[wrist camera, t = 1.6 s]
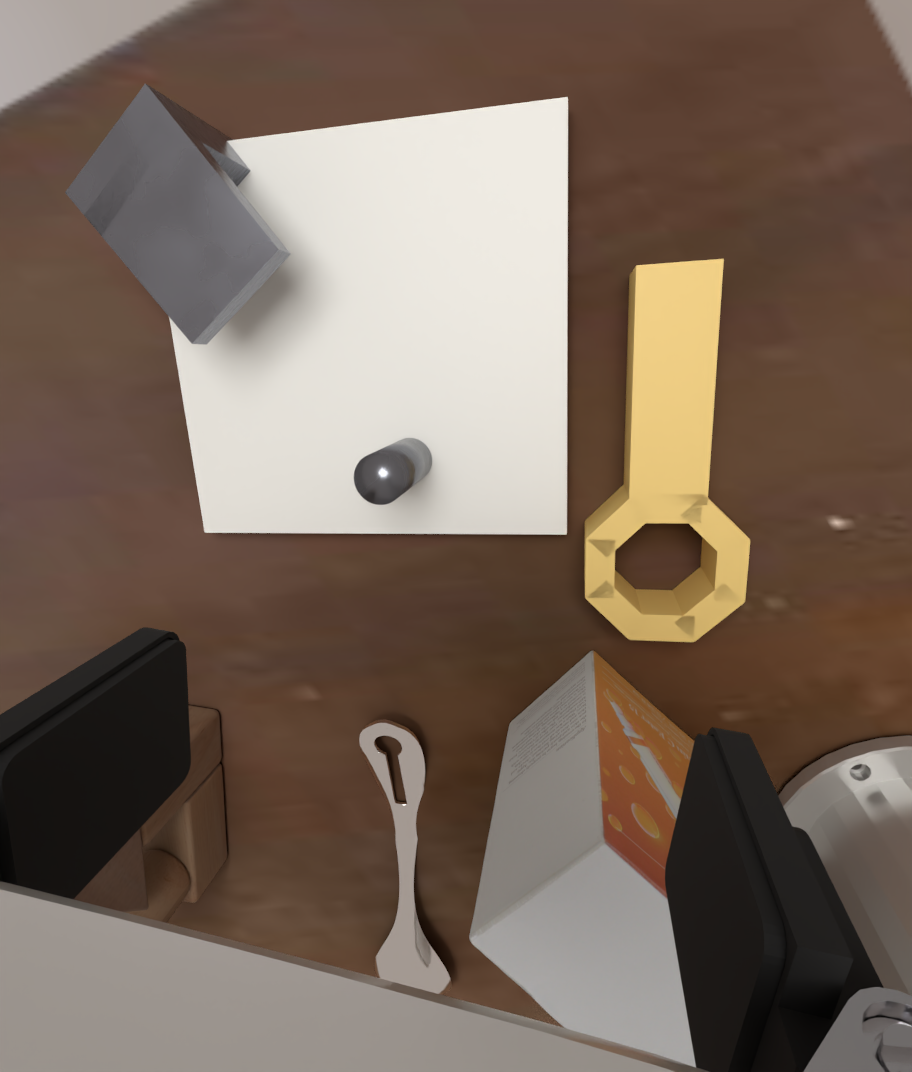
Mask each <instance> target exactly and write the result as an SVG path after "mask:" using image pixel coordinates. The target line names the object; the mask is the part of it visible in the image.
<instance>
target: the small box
mask: <svg viewBox="0 0 912 1072" xmlns="http://www.w3.org/2000/svg"><path fill="white" fill-rule="evenodd" d="M694 742H695V741H694V740H692V739H691V738H690V737H689V736H688V735H687V734H685V733H684V732H683V731H682V730H681V729H680V728H678V727H677V726H676V725H675V724H674V723H673V722H672V721H670V720H669V719H668V718H667V717H666V716H665V715H664V714H663V713H662V712H661V711H659V710H658V709H657V708H656V707H655V706H654V705H652V704H651V703H650V702H649V701H648V700H647V699H646V698H645V697H644V696H643V695H641V694H640V693H639V692H638V691H637V690H636V689H635V688H634V687H633V686H632V685H631V684H629V683H628V682H627V681H626V680H625V679H624V678H623V677H622V676H621V675H620V674H618V673H617V672H616V671H615V670H614V669H613V668H612V667H611V666H610V665H609V664H608V663H607V662H606V661H605V660H604V659H602V658H601V657H600V656H599V655H598V654H597V653H596V652H595V651H590V652H589V653H588V654H587V655H586V656H585V657H584V658H582V659H581V660H580V661H579V662H578V663H577V664H576V665H575V666H574V667H572V668H571V669H570V670H569V671H568V672H567V673H565V674H564V675H563V676H562V677H561V678H560V679H559V680H558V681H557V682H555V683H554V684H553V685H552V686H551V687H550V688H549V689H547V690H546V691H545V692H544V693H543V694H542V695H541V696H539V697H538V698H537V699H536V700H535V701H534V702H533V703H532V704H530V705H529V706H528V707H527V708H526V709H525V710H524V711H523V712H522V713H520V714H519V715H518V716H517V717H516V718H515V719H513V720H512V721H511V722H510V724H509V729H508V734H507V739H506V744H505V749H504V754H503V760H502V765H501V770H500V776H499V781H498V786H497V792H496V798H495V804H494V809H493V815H492V820H491V825H490V830H489V835H488V841H487V846H486V852H485V857H484V863H483V868H482V874H481V879H480V885H479V890H478V895H477V900H476V906H475V911H474V916H473V921H472V925H471V930H470V935H469V938H470V941H471V943H472V944H473V945H474V946H475V947H476V948H477V949H479V950H480V951H481V952H482V953H483V954H484V955H485V956H486V957H487V958H488V959H490V960H491V961H492V962H493V963H494V964H495V965H496V966H498V967H499V968H500V969H501V970H502V971H503V972H504V973H505V974H506V975H508V976H509V977H510V978H511V979H512V980H513V981H515V982H516V983H517V984H518V985H519V986H520V987H521V988H523V989H524V990H525V991H526V992H527V993H528V994H529V995H530V996H531V997H532V998H533V999H534V1000H535V1001H536V1002H537V1003H538V1004H539V1005H540V1006H541V1007H542V1008H543V1009H544V1010H545V1011H546V1012H547V1013H548V1014H550V1015H551V1016H552V1017H553V1018H554V1019H555V1020H556V1021H557V1022H559V1023H560V1024H561V1025H562V1026H563V1027H564V1028H566V1029H569V1030H573V1031H576V1032H580V1033H584V1034H587V1035H591V1036H594V1037H598V1038H601V1039H605V1040H608V1041H612V1042H615V1043H619V1044H622V1045H626V1046H629V1047H633V1048H636V1049H640V1050H643V1051H647V1052H650V1053H654V1054H657V1055H660V1056H663V1057H666V1058H669V1059H672V1060H675V1061H678V1062H681V1063H684V1064H687V1065H690V1066H693V1067H696V1064H695V1059H694V1053H693V1047H692V1041H691V1035H690V1029H689V1023H688V1017H687V1011H686V1005H685V999H684V993H683V988H682V982H681V976H680V970H679V964H678V958H677V952H676V946H675V940H674V934H673V928H672V922H671V917H670V911H669V905H668V899H667V893H666V886H665V868H666V861H667V857H668V852H669V848H670V844H671V840H672V835H673V831H674V827H675V823H676V818H677V814H678V810H679V805H680V801H681V797H682V793H683V788H684V784H685V780H686V776H687V771H688V767H689V763H690V758H691V754H692V750H693V746H694Z"/></svg>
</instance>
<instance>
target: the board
mask: <svg viewBox="0 0 912 1072" xmlns="http://www.w3.org/2000/svg"><path fill="white" fill-rule="evenodd" d="M227 142H228V143H229V144H230V145H231V147H232V148H233V149H234V150H235V152H236V153H237V154H238V155H239V157H240V158H241V159H242V160H243V162H244V163H245V164H246V165H247V167H248V168H249V169H250V172H249V173H248V175H247V176H246V177H245V178H244V179H243V180H242V182H241V183H240V184H239V185H238V186H237V187H238V189H239V190H240V191H241V192H242V194H243V195H244V196H245V197H246V199H247V200H248V201H249V202H250V204H251V205H252V206H253V207H254V209H255V210H256V211H257V212H258V214H259V215H260V216H261V217H262V219H263V220H264V221H265V222H266V224H267V225H268V226H269V227H270V229H271V230H272V231H273V232H274V234H275V235H276V236H277V237H278V239H279V240H280V241H281V242H282V244H283V245H284V246H285V247H286V249H287V250H288V251H289V252H290V254H291V255H290V256H289V257H288V258H287V259H286V260H285V261H284V262H283V263H282V264H281V265H280V267H279V268H278V269H277V270H276V271H275V272H274V273H273V274H272V275H271V276H270V277H269V278H268V279H267V280H266V282H265V283H264V284H263V285H262V286H261V287H260V288H259V289H258V290H257V291H256V292H255V293H254V294H253V295H252V297H251V298H250V299H249V300H248V301H247V302H246V303H245V304H244V305H243V306H242V307H241V308H240V309H239V310H238V312H237V313H236V314H235V315H234V316H233V317H232V318H231V319H230V320H229V321H228V322H227V323H226V324H225V326H224V327H223V328H222V329H221V330H220V331H219V332H218V333H217V334H216V335H215V336H214V337H213V338H212V339H211V341H210V342H209V343H208V344H207V345H206V344H192V343H191V342H190V341H189V340H188V339H187V337H186V336H185V335H184V334H183V333H182V332H181V330H180V329H179V328H178V327H177V326H176V324H175V323H174V322H173V321H172V320H171V318H170V317H169V318H170V324H171V330H172V336H173V342H174V348H175V354H176V360H177V366H178V372H179V379H180V385H181V391H182V397H183V403H184V409H185V415H186V421H187V427H188V433H189V440H190V446H191V452H192V458H193V464H194V470H195V476H196V482H197V488H198V495H199V501H200V507H201V513H202V519H203V525H204V531H205V533H357V534H551V535H567V385H568V97H564V98H556V99H548V100H540V101H533V102H525V103H517V104H509V105H502V106H494V107H486V108H478V109H471V110H463V111H455V112H447V113H440V114H432V115H424V116H417V117H409V118H401V119H393V120H386V121H378V122H370V123H362V124H355V125H347V126H339V127H331V128H324V129H316V130H308V131H300V132H293V133H285V134H277V135H270V136H262V137H254V138H246V139H239V140H231V141H227ZM404 438H415V439H418V440H420V441H422V442H423V443H424V444H426V446H427V447H428V448H429V450H430V452H431V455H432V466H431V469H430V471H429V473H428V474H427V475H426V476H425V477H424V478H423V479H421V480H420V481H419V482H418V483H416V484H415V485H414V486H412V487H411V488H410V489H409V490H407V491H406V492H405V493H404V494H402V495H401V496H400V497H398V498H397V499H396V500H394V501H393V502H391V503H389V504H385V505H376V504H372V503H370V502H368V501H366V500H365V499H364V498H363V497H362V496H361V495H360V494H359V493H358V491H357V489H356V487H355V484H354V471H355V468H356V466H357V464H358V462H359V461H360V460H361V459H362V458H364V457H365V456H367V455H369V454H371V453H373V452H376V451H378V450H380V449H382V448H384V447H386V446H389V445H391V444H393V443H395V442H397V441H399V440H402V439H404Z"/></svg>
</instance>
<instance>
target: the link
mask: <svg viewBox="0 0 912 1072" xmlns="http://www.w3.org/2000/svg"><path fill="white" fill-rule="evenodd" d="M723 262H724V259H715V260H702V261H688V262H675V263H662V264H649V265H636V267H635V268H634V270H633V271H632V273H631V274H630V276H629V309H628V344H627V380H626V416H625V452H624V485H622V486H621V487H620V488H619V489H618V490H617V491H616V492H615V493H614V494H613V495H612V496H611V497H610V498H609V499H608V500H606V501H605V502H604V503H603V504H602V505H601V506H600V507H599V508H598V509H597V510H596V511H595V512H594V513H593V514H592V515H590V516H589V517H588V518H587V519H586V520H585V537H584V584H585V598H586V600H588V601H589V602H590V603H591V604H592V605H593V606H594V607H595V608H596V609H597V610H598V611H599V612H600V613H601V614H602V615H603V616H604V617H605V618H606V619H608V620H609V621H610V622H611V623H612V624H613V625H614V626H615V627H616V628H617V629H618V630H619V631H620V632H621V633H622V634H623V635H624V636H625V637H627V638H628V639H630V640H645V641H672V642H693V641H694V642H695V641H696V640H697V639H699V638H700V637H701V636H703V635H704V634H705V633H706V632H708V631H709V630H710V629H711V628H713V627H714V626H715V625H717V624H718V623H719V622H720V621H722V620H723V619H724V618H725V617H727V616H728V615H729V614H731V613H732V612H733V611H734V610H736V609H737V608H738V607H739V606H741V605H742V604H743V603H744V602H745V597H746V585H747V574H748V562H749V551H750V539H749V538H748V537H747V536H746V535H745V534H744V533H743V532H742V531H741V530H740V529H739V528H738V527H737V526H736V525H735V524H734V523H733V522H732V521H731V520H730V519H729V518H728V517H727V516H726V515H725V514H724V513H723V512H722V511H721V510H720V509H719V508H718V507H717V506H716V505H715V504H714V503H713V502H712V501H711V500H710V499H709V498H708V488H709V473H710V458H711V443H712V428H713V413H714V398H715V382H716V367H717V352H718V337H719V322H720V307H721V292H722V277H723ZM645 523H689V524H690V525H691V526H692V527H693V528H694V529H695V530H696V531H697V532H698V533H699V534H700V535H701V536H702V550H701V566H700V567H699V568H698V569H697V570H696V571H695V572H693V573H692V574H691V575H690V576H689V577H687V578H686V579H685V580H684V581H683V582H681V583H680V584H679V585H678V586H677V587H675V588H674V589H673V590H644V589H635V588H634V587H632V586H631V585H630V584H629V583H628V582H627V581H626V580H625V579H624V578H623V577H622V576H621V575H620V574H619V573H618V572H617V571H616V570H615V550H616V549H617V548H619V547H620V546H621V545H622V544H623V543H624V542H625V541H626V540H627V539H629V538H630V537H631V536H632V535H633V534H634V533H635V532H636V531H638V530H639V529H640V528H641V527H642V526H643V525H644V524H645Z"/></svg>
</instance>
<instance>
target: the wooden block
mask: <svg viewBox="0 0 912 1072" xmlns="http://www.w3.org/2000/svg"><path fill="white" fill-rule="evenodd" d="M188 706H189V727H190V748H191V766H190V770H189V772H188V775H187V777H186V779H185V780H184V781H183V783H182V784H181V785H180V786H179V787H178V788H177V789H176V790H175V791H174V792H173V793H172V795H171V796H170V797H169V798H168V799H167V800H166V801H165V802H164V803H163V804H162V805H161V806H160V807H159V808H158V809H157V811H156V812H155V813H154V814H153V815H152V816H151V817H150V818H149V819H148V820H147V821H146V822H145V823H144V824H143V826H142V827H141V828H140V829H139V830H138V831H137V832H136V833H135V834H134V835H133V836H132V837H131V838H130V839H129V841H128V842H127V843H126V844H125V845H124V846H123V847H122V848H121V849H120V850H119V851H118V852H117V853H116V854H115V855H114V857H113V858H112V859H111V860H110V861H109V862H108V863H107V864H106V865H105V866H104V867H103V868H102V869H101V870H100V872H99V873H98V874H97V875H96V876H95V877H94V878H93V879H92V880H91V881H90V882H89V883H88V884H87V885H86V887H85V888H84V889H83V890H82V891H81V892H80V893H79V894H78V895H77V896H76V897H75V898H74V899H73V900H77V901H81V902H85V903H89V904H93V905H97V906H101V907H105V908H109V909H113V910H117V911H121V912H125V913H129V914H133V915H137V916H141V917H145V918H149V919H153V920H157V921H161V922H164V923H167V922H168V920H169V919H170V917H171V916H172V915H173V913H174V912H175V910H176V909H177V908H178V906H179V905H180V904H181V902H182V901H185V902H189V903H195V902H197V901H198V899H199V898H200V897H201V895H202V894H203V892H204V891H205V889H206V888H207V887H208V885H209V884H210V882H211V881H212V879H213V878H214V876H215V875H216V874H217V872H218V871H219V869H220V868H221V866H222V865H223V864H224V862H225V861H226V859H227V843H226V826H225V809H224V792H223V775H222V765H221V764H220V760H221V757H222V751H221V734H220V717H219V712H218V711H217V710H215V709H210V708H204V707H198V706H192V705H188Z"/></svg>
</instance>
